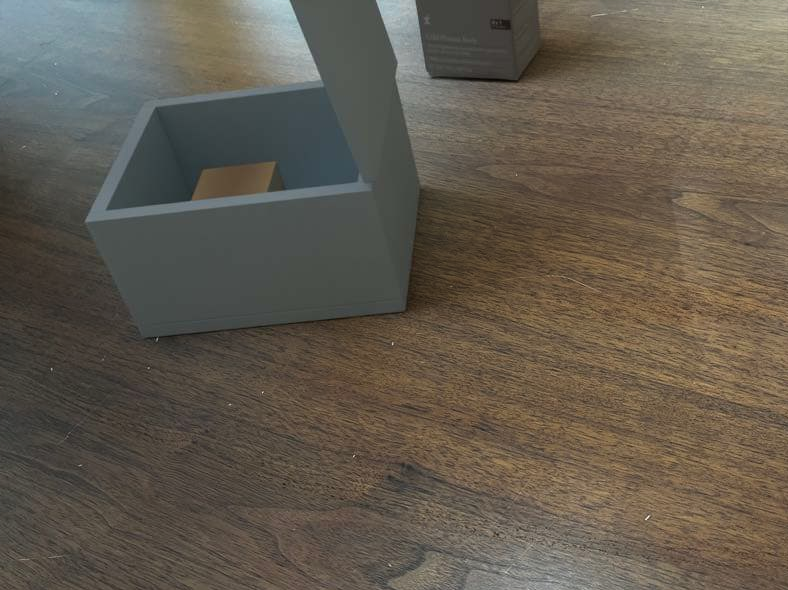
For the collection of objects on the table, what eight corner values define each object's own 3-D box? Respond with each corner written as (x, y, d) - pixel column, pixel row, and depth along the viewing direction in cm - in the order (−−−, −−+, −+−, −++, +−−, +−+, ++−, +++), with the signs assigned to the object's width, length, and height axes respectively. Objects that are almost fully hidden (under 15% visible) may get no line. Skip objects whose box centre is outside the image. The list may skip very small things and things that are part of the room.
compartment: (142, 338, 69) (84, 222, 63) (191, 212, 79) (144, 100, 73) (405, 311, 68) (372, 189, 61) (421, 186, 78) (393, 70, 71)
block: (212, 276, 71) (185, 212, 68) (227, 231, 75) (202, 169, 71) (286, 268, 71) (263, 203, 67) (298, 223, 74) (276, 160, 71)
